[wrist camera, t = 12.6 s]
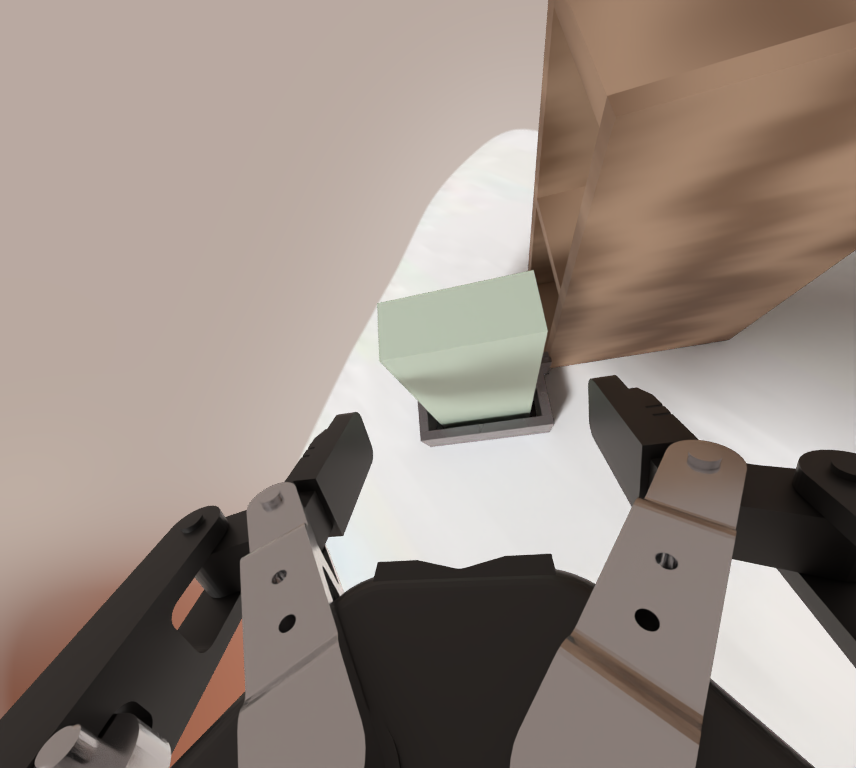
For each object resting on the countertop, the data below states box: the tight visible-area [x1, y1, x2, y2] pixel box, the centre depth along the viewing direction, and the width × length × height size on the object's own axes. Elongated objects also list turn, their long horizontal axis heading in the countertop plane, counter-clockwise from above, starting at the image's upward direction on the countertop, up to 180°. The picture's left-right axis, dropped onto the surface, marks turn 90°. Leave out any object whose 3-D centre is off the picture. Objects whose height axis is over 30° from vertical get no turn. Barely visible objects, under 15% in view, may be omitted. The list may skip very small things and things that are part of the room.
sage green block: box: [377, 270, 548, 429], centre depth 19 cm, size 6×4×14 cm, turn 95°
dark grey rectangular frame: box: [418, 352, 554, 447], centre depth 24 cm, size 9×5×3 cm, turn 95°
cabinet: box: [528, 0, 856, 368], centre depth 17 cm, size 12×8×18 cm, turn 95°
